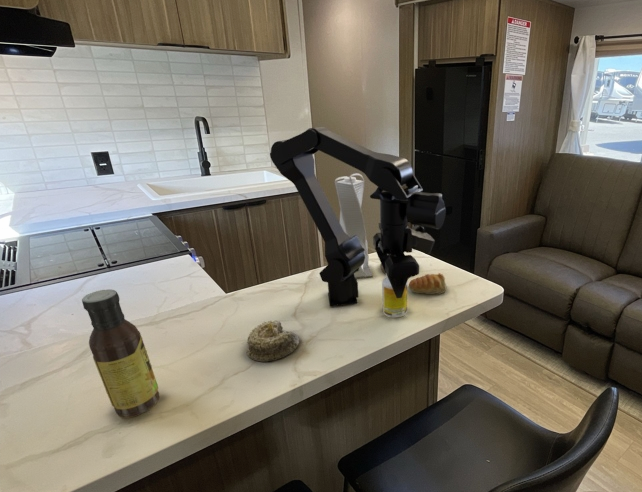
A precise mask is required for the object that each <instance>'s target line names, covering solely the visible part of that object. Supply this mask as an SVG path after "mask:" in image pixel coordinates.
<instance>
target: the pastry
mask: <svg viewBox="0 0 642 492" xmlns="http://www.w3.org/2000/svg"><path fill="white" fill-rule="evenodd" d="M445 279H446V278H445V276H444V274H443V273H441V272H440V273H437V274H436V273H431V274H430V273H427V274H424V275H422V276H420V277H416V278H414V279H410V281H409V283H408V285H407V288H408V289H409V290H410V291H412V292H414V293H415V294H424V295H425V294H426V295H428V294H429V295H434V294H438V295H439V294H443V293H445V292H446V291H447V283H446V280H445Z"/></svg>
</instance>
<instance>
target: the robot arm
mask: <svg viewBox="0 0 642 492" xmlns="http://www.w3.org/2000/svg"><path fill="white" fill-rule="evenodd" d="M319 152H321V153H324V154H326V155H327V156H330V157H332V158H333V159H336V160H338V161H339V162H342V163H344V164H346V165H348V166H350V167H352V168H354V169H356V170H358V171H360V172H361V173H363V174H364V175H365V177H366V178H367V179H368V180H369V182H371V183H372V184H373V185H375V186H376V189H375V190H374V192H372V193H371V194H370V195H369V198H370V199H373V200H379V216H380V220H379V222H378V229H379V231H380V232H376V233H375V234H374V235H373V236H372V243H373V247H374V250H375V253H376V254H377V257H378V259H379V262H380V265H381V264H382V266H383V269H384V271H385V273H386V274H387V277H388V279H389V281H390V284H391V286H392V288H393V291H394V293H395V295H396V298H402V295H403V292H404V289H405V286H406V283H407V284H408V280H409V279H411V277H415V276H418V275H419V274H420V264H419V262H418V261H417V259H416V258H415V257H414V256H413V255H411V254H408V253H413V250H414V251H418V252H420V253H424V254H425V255H430V254H431V253H432V249H433V247H434V245H435V242H436V240H435V239H434V238H433V236H431V234H430V233H428V232H426V231H425V228H428V229H436V230H440V229H442V227H443V225H444V222H445V219H446V215H447V208H446V205H445V201H444V200H443V194H442V193H439V192H433V193H431V192H425V191H424V189H423V187H422V186H421V184H420V182H419V181H418V179H417V177H416V175H415V174H414V172H413V167H412V165H411V162H409V160H408V159H406V158H405V157H401V156H398V155H393V154H390V153H382V152H376V151H373V150H371V149H368V148H367V147H365V146H363V145H360V144H358V143H357V142H354V141H353V140H350V139H348V138H346V137H344V136H342V135H339V134H337V133H335V132H333V131H331V130H330V129H328V127H325V126H317V127H310V128H309V127H308V128H307V129H306V130H305V131H303V132H302V133H299V134H296V135H295V136H293V137H291V138H289V139H283V140H278V141H275V142H274V143H273V144H272V145H271V147H270V153H269V157H270V159H271V162H272V163H273V165H274V166H275V168H276V169H277V170H278V172H279V174H280V175H282V176H283V177H284V178H286V179H287V180H288V181H290V183H292V184H293V185H294V187H295V188H296V190H297V192H298V195H299V196H300V198H301V200H302V202H303V204H304V206H305V207H306V210H307V211H308V213H309V215H310V217H311V219H312V221H313V222H314V225H315V227H316V228H317V230H318V232H319V234H320V236H321V238H322V240H323V241H324V257H325V260H326V262H327V265H326V266H325V267H324V268H323V269H322V270H320V271H319V274H318V275H319V277H320V279H321V281H322V282H324V283H327V289H328V291H327V298H328V305H329V307H338V306H339V307H340V306H347V305H348V306H349V305H355V304H358V298H359V282H358V279H356V278H355V276H354V273H356V272H358V271H359V268H360V266H362V265H363V263H364V260H365V254H364V252H363V251H365V249H364V248H363V247H362V246H361V244H360V241H359V239H358V237H357V236H356V235H355V236H353V237H350V236H349V235H348V234H346V233H345V232H344V230H343V228H342V226H341V225H340V220H339V219H338V217H337V215H336V213H335V211H334V209H333V207H332V206H331V203H330V201H329V199H328V198H327V195H326V194H325V192H324V190H323V188H322V186H321V183H319V180H318V178H317V176H316V174H315V158H314V155H315V154H317V153H319ZM404 186H406V187H405V188H403V187H404ZM423 191H424V192H423ZM409 223H410V224H411V225H412V226H413V227H410V226H409ZM405 253H406V254H405ZM386 274H385V275H386Z"/></svg>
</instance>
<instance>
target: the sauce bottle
mask: <svg viewBox="0 0 642 492" xmlns="http://www.w3.org/2000/svg"><path fill="white" fill-rule="evenodd" d="M81 303H82V306H83V309H84V310H85V311H87V314H88V317H89V319H90V322H91V324H90V325H91V326H92V328H93V329H92V331H91V333H90V335H89V340H88V346H89V349H90V352H91V354H92V359H93V361H94V362H93V363H94V364H95V367H96V369H97V372H98V374H99V376H100V380H101V382H102V385H103V388H104V389H105V392H106V394H107V397H108V399H109V402H110V405H111V406H112V407H113V410H114V412H115V413H116V415H118V417H120V418H133V417H137V416H139V415H142V414H144V413H146V412H148V411H150V409H152V408H153V407H154V406H156V405H157V403H158V402H159V400H160V392H159V385H158V381H157V378H156V376H155V372H154V370H153V366H152V363H151V360H150V357H149V354H148V351H147V348H146V345H145V343H144V340H143V337H142V334H141V332H140V330H139V329H138V328H137V326H136V325H134V323H132V322H130V321H128V320H127V319H126V318H125V313H124V312H123V310H122V307H121V304H120V295H119V293H118V292H117V290H115V289H110V288H109V289H100V290H96V291H92V292H90V293H88V294H86V295H84V296H83V297H82V299H81Z"/></svg>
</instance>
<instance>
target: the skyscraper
mask: <svg viewBox="0 0 642 492" xmlns="http://www.w3.org/2000/svg"><path fill="white" fill-rule="evenodd" d="M355 176H358V177H360V178H361V180H360V179H357V177H355ZM365 184H366V180H365V178H364V176H363V175H362V174H361V173H357V172H356V173H352V174H350V175H349V176H347V175H346V176H339V177H336V178H335V180H334V185H335V190H336V195H337V200H338V205H339V209H340V212H339V223H340V225H341V226H342V228H343V230H344V232H345V233H346V234H348V235H349V236H350V237H353V236H355V235H356V236H357V237H358V239H359V241H360V244H361V246H362V247H363V248H364V249H365V251H363V252H364V254H365V260H364V263H363V265H362V266H360V268H359V271H358V272H356V273H354V276H355V278H356V279H357V280H359V279H360V280H361V279H369V278H373V277H374V275H373V273H372V270H371V268H370V266H369V262H370V261H369V258H370V257H369V253H368V251H369V250H368V247H369V246H368V240H367V231H366V223H365V218H364V212H363V209H362V205H363V199H364V191H365V186H366V185H365Z"/></svg>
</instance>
